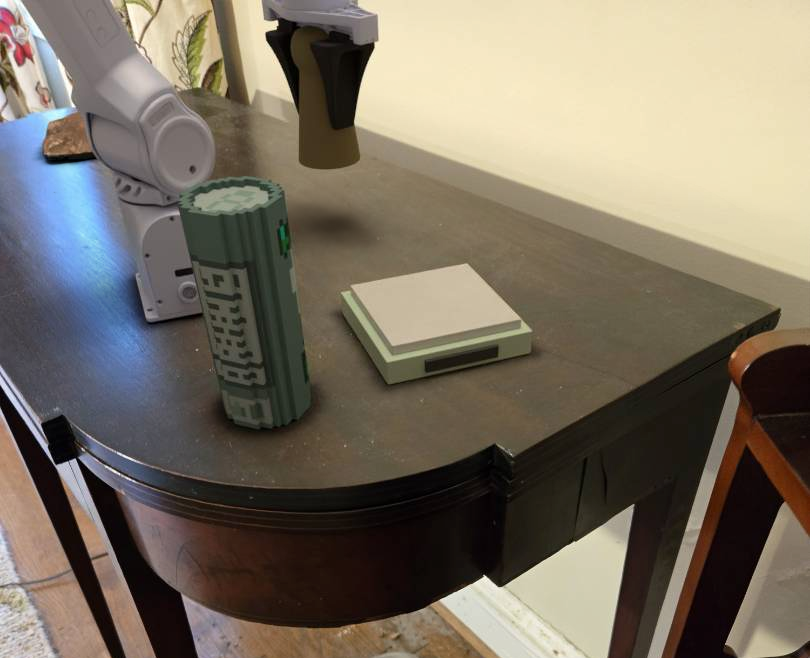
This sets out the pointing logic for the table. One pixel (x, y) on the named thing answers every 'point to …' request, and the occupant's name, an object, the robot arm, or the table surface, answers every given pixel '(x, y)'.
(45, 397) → the table surface
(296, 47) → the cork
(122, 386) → the table surface
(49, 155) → the brown stone slab
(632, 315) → the table surface
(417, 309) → the scale
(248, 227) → the can
